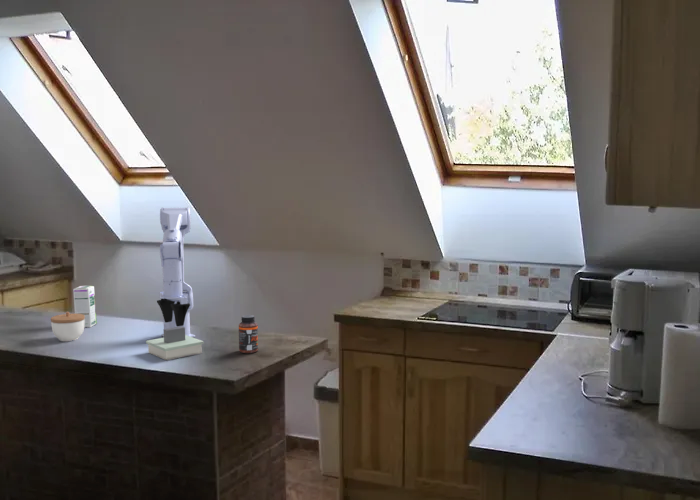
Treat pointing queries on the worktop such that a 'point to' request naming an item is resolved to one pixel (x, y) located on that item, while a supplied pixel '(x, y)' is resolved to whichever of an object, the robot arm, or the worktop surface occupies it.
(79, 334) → the lidded jar
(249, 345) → the supplement bottle
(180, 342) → the lid
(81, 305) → the syrup box
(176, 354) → the storage box
